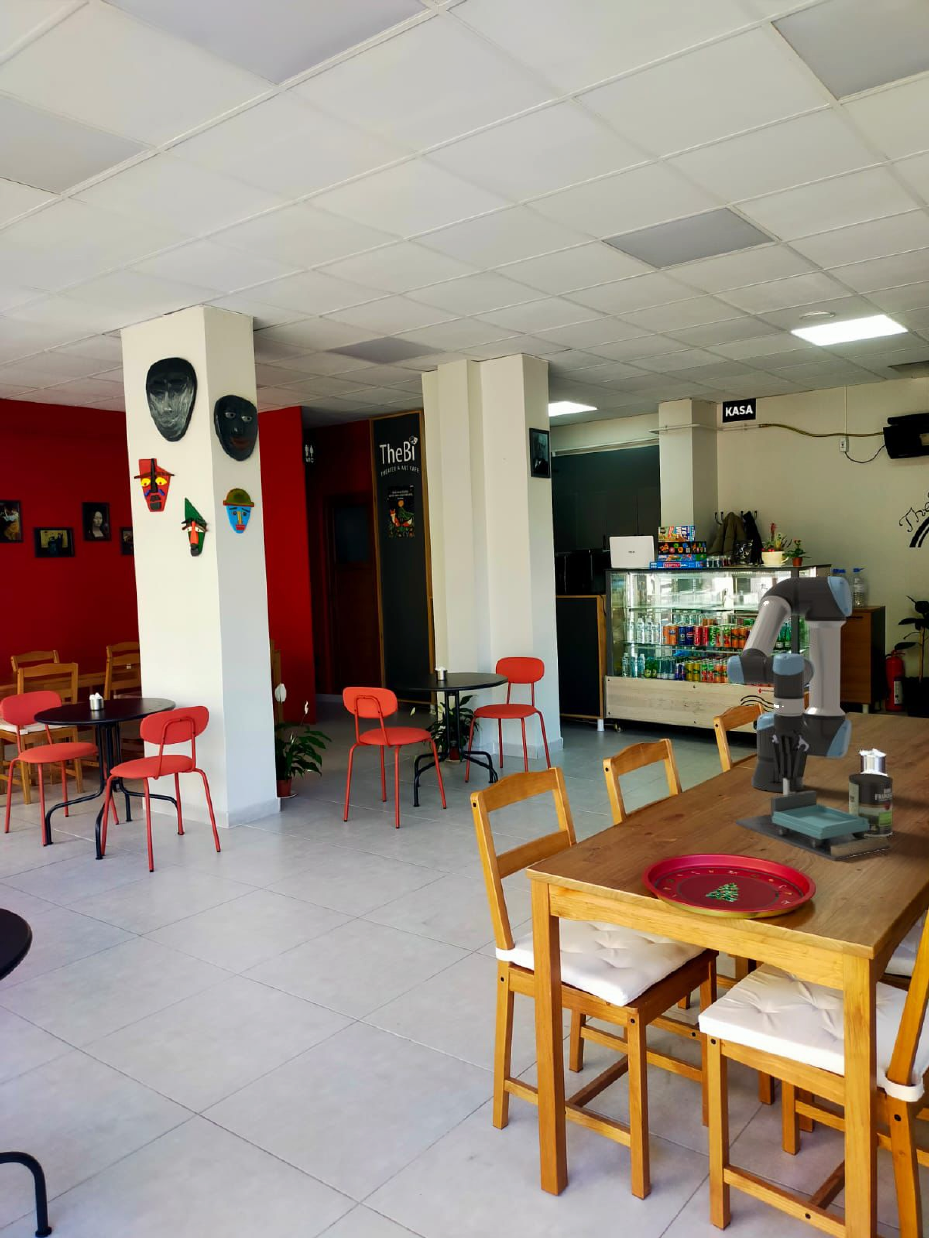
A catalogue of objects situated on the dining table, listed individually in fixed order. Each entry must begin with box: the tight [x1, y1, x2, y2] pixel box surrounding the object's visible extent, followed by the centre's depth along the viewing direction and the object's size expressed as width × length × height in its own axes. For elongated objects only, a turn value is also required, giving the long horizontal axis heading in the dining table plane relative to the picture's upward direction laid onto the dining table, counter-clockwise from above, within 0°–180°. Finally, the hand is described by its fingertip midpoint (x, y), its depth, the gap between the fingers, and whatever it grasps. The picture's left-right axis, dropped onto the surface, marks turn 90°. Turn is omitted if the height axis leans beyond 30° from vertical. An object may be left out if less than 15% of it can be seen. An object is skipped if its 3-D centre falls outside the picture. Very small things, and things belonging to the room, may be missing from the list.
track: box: [734, 813, 891, 861], centre depth 227 cm, size 34×18×3 cm, turn 24°
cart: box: [770, 790, 869, 847], centre depth 224 cm, size 18×16×8 cm
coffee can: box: [848, 772, 894, 838], centre depth 228 cm, size 10×10×14 cm
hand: (789, 802), depth 232 cm, fingers closed
